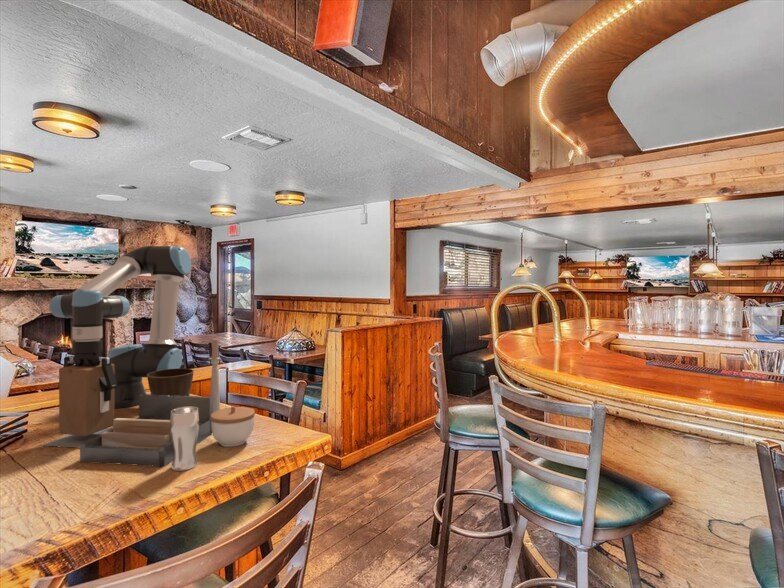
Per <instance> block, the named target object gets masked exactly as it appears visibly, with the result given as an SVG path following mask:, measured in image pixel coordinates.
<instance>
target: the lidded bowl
mask: <svg viewBox="0 0 784 588" xmlns="http://www.w3.org/2000/svg"><path fill="white" fill-rule="evenodd" d="M255 412H256V411H255V409H253V408H251V407H247V406H235V405H232V406H230V407H226V408H222V409H221V408H220V410H218V411H215V412H213V413H212V414H211V429H212V436H213V438H214V439H215V440H216V442H218V443H219V444H220V446H222V447H226V448H233V447H237V446H238V447H239V446H241V445H243V444H245V443H246V440H248V438H250V436H251V434H252V433H253V429H254V425H255V415H256V413H255Z"/></svg>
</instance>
